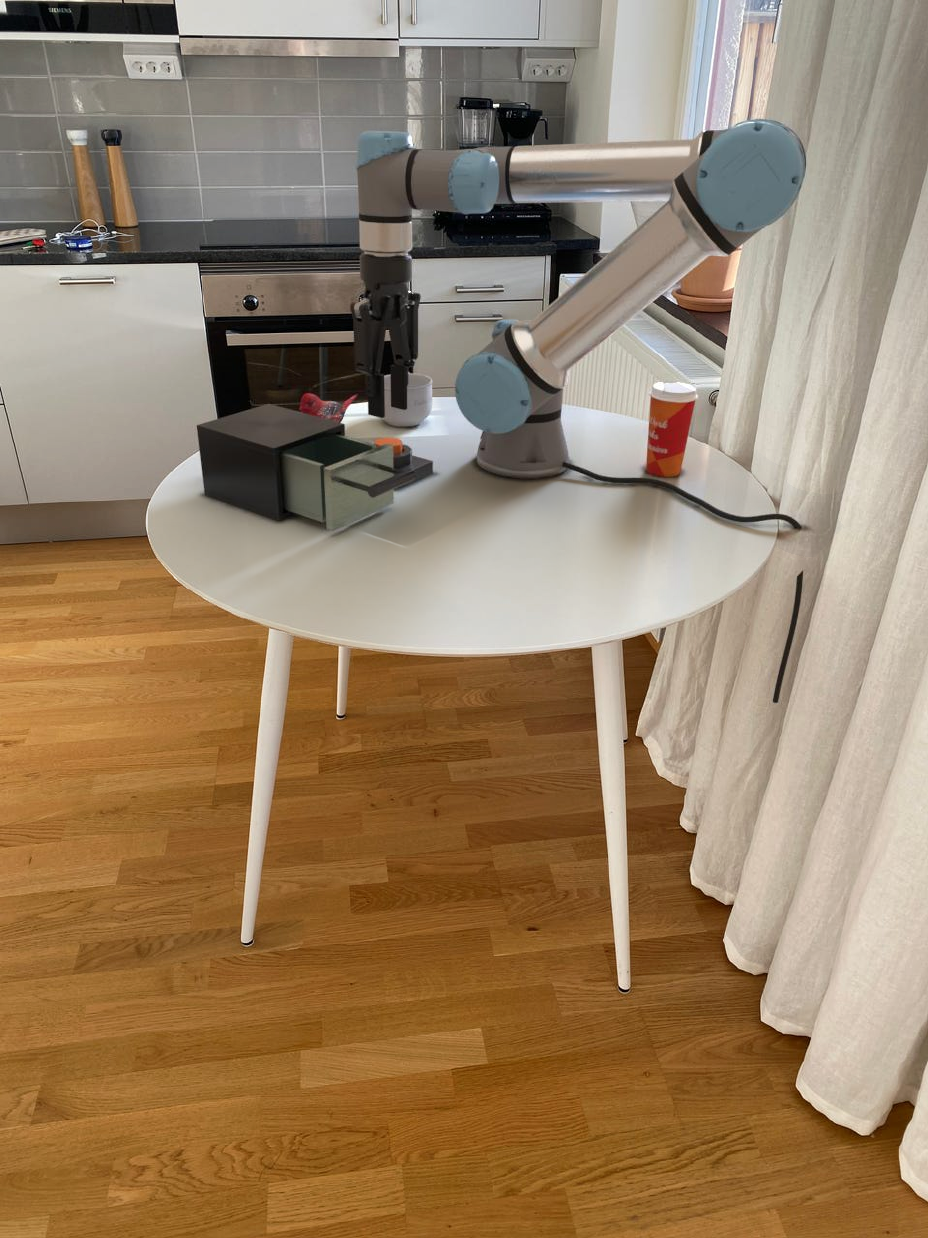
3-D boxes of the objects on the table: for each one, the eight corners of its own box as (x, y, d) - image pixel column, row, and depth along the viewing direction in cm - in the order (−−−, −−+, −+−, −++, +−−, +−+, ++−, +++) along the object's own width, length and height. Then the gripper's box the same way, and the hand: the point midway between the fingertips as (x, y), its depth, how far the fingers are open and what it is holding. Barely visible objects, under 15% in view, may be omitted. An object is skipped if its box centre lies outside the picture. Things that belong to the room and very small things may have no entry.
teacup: (424, 433, 169) (424, 389, 165) (366, 428, 170) (365, 384, 167) (441, 411, 181) (442, 370, 177) (387, 406, 182) (386, 365, 179)
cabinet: (347, 492, 143) (344, 423, 138) (279, 521, 133) (273, 448, 127) (273, 469, 151) (268, 403, 145) (204, 495, 140) (196, 424, 135)
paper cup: (634, 463, 158) (644, 380, 151) (679, 462, 159) (690, 380, 152) (646, 479, 151) (657, 393, 144) (692, 479, 152) (705, 393, 145)
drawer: (426, 513, 134) (426, 454, 130) (366, 543, 125) (364, 480, 120) (320, 480, 144) (318, 424, 140) (257, 505, 135) (252, 446, 131)
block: (432, 473, 151) (433, 449, 149) (397, 489, 144) (397, 464, 142) (380, 458, 156) (380, 435, 154) (344, 473, 150) (343, 449, 148)
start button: (408, 451, 149) (407, 441, 148) (390, 458, 146) (390, 448, 145) (386, 445, 151) (386, 435, 150) (368, 452, 148) (368, 442, 147)
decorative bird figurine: (295, 454, 157) (291, 395, 152) (351, 426, 171) (349, 371, 166) (309, 457, 156) (306, 398, 151) (365, 428, 170) (363, 373, 165)
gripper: (404, 243, 142) (405, 395, 154) (323, 255, 130) (330, 420, 141) (443, 248, 139) (441, 403, 150) (364, 262, 126) (368, 430, 137)
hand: (387, 411), depth 145 cm, fingers open, 5 cm apart
